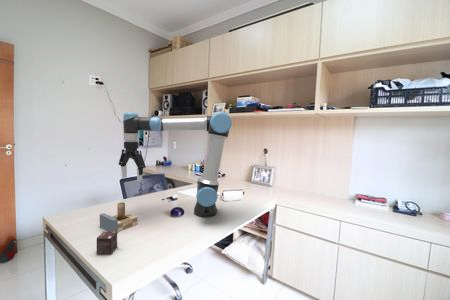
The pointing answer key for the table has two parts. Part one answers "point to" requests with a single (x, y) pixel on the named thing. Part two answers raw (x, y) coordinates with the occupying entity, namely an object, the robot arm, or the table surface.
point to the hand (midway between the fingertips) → (131, 179)
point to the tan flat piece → (126, 221)
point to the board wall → (108, 223)
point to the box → (106, 243)
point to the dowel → (121, 211)
